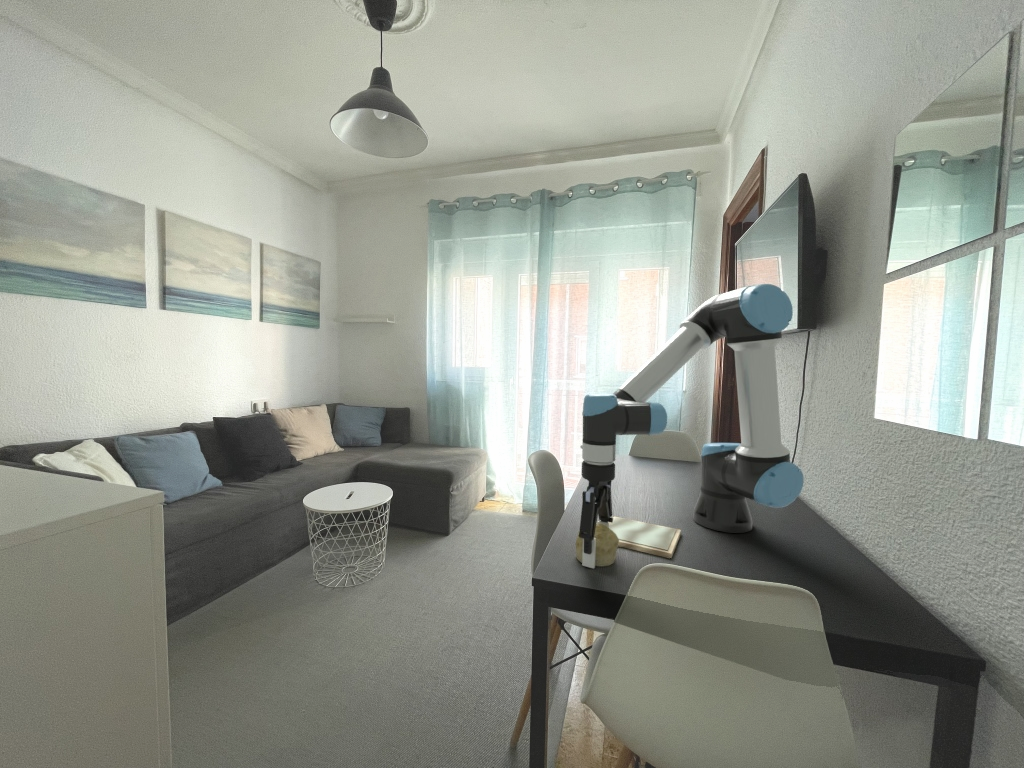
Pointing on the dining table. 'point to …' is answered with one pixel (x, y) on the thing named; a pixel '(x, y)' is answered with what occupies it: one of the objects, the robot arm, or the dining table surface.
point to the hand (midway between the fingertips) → (595, 557)
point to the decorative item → (601, 546)
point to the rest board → (645, 536)
